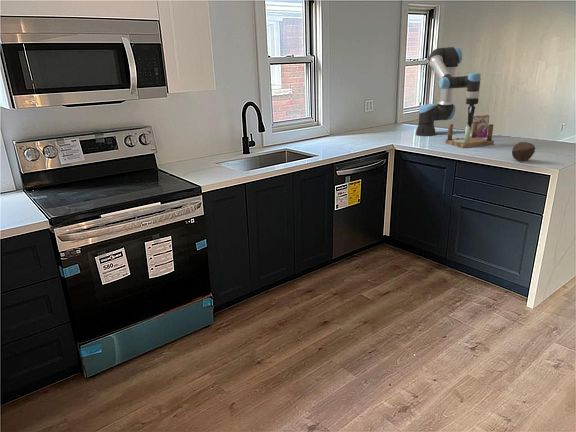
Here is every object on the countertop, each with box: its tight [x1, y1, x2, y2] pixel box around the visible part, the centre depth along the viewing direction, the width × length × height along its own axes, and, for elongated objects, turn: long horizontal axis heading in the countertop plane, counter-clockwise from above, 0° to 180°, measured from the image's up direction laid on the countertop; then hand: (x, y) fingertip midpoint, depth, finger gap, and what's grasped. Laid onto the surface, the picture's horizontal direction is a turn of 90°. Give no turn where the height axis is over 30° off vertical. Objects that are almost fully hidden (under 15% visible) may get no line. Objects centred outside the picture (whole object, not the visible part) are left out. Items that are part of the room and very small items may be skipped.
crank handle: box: [454, 125, 470, 143], centre depth 287 cm, size 11×3×11 cm, turn 32°
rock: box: [511, 141, 536, 162], centre depth 244 cm, size 12×10×10 cm
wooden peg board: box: [444, 121, 494, 149], centre depth 293 cm, size 20×24×14 cm
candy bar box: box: [470, 114, 490, 138], centre depth 312 cm, size 11×5×16 cm, turn 84°
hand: (469, 133), depth 286 cm, fingers closed
